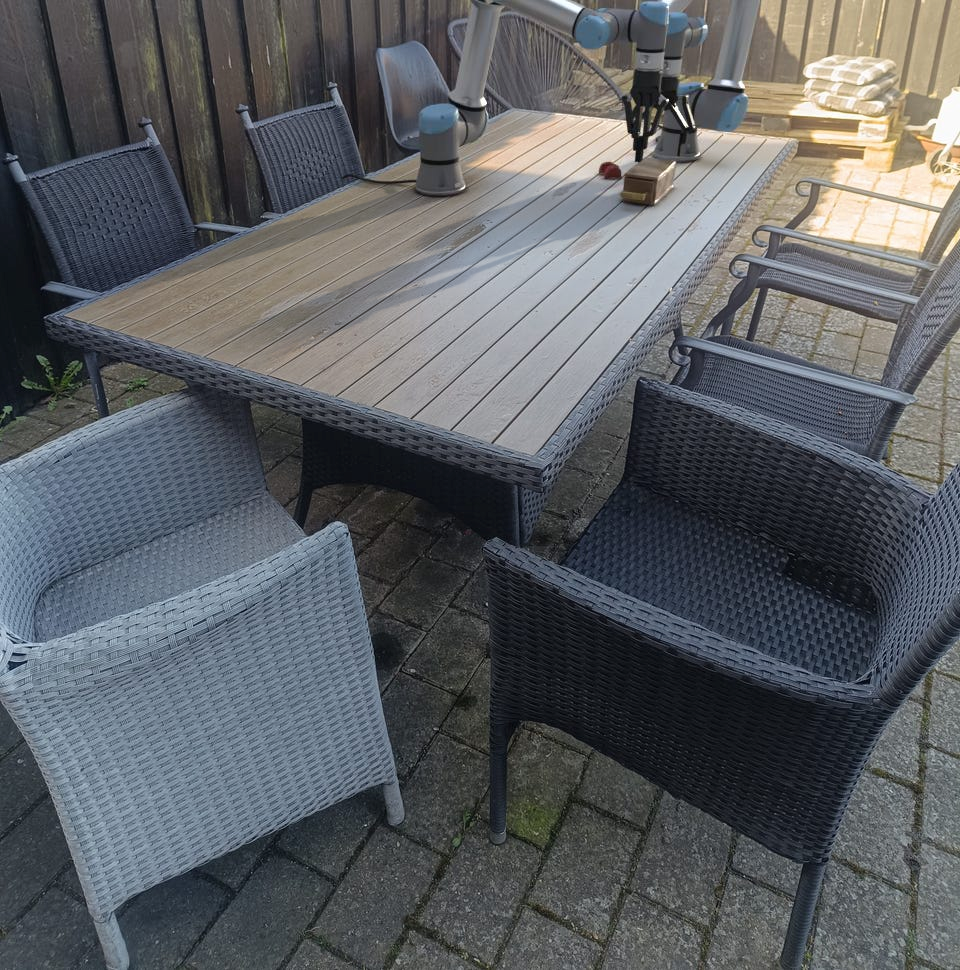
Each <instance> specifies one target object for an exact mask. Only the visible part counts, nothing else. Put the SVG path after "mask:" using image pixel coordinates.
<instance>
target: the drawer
mask: <svg viewBox="0 0 960 970" xmlns="http://www.w3.org/2000/svg"><path fill="white" fill-rule="evenodd" d="M653 190H654V180H647V179H639V178H632V177H630V178H625V179H624V178H623V188H622V190H621V191H620V194H619V195H620V198H621V201H622V200H627V201H634V202H641V203H648V204H651V203H652V199H653Z"/></svg>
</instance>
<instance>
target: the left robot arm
mask: <svg viewBox="0 0 960 970" xmlns="http://www.w3.org/2000/svg"><path fill="white" fill-rule="evenodd" d="M657 1H658V0H656V1H653V0H652V1H649V0H648V1H642V2H641V3H640V5H639V8H638V9H625V8H614V7H601V8H598V9H597V11H596V10H593V9H591V8H588V7H586V6H585V5H582V4H580V3H578V2H576V1H574V0H470V8H469V14H468V19H467V26H466V28H465V29H466V30H465V35H464V41H463V46H462V50H461V51H462V52H461V56H460V61H459V67H458V72H457V78H456V82H455V88H454V89H453V90H452V91H450V92H449V93H448V97H447V103H436V104H430V105H428V106H425V107H424V108H422V109H421V110H420V112H419V114H418V126H417V127H418V134H419V135H418V136H419V138H418V139H419V157H420V158H419V159H420V161H419V162H420V164H419V168H418V172H417V176H416V179H404V180H375V179H370V178H364V177H362V176H359V175H357V174H354V173H347V174H344V175H343V176H342V177H341V180H345V179H346V178H348V177H350V178H355V179H357V180H360V181H363V182H368V183H372V184H379V185H397V184H398V185H399V184H412V183H415V192H417V193H418V194H420V195H424V196H430V197H450V196H455V195H459V194H461V193H463V192H464V191H466V181H465V179H464V176H463V172H462V169H461V165H460V148H462V147H464V146H466V145H468V144H472V143H474V142H476V141H478V140H479V139H480V138H481V137H483V136H484V134H485V133H486V131H487V129H488V126H489V119H490V117H489V113H488V111H487V100H486V99H485V96H484V94H485V88H486V84H487V79H488V75H489V74H488V73H489V71H490V70H489V69H490V64H491V60H492V55H493V50H494V45H495V40H496V35H497V31H498V26H499V21H500V17H501V12H502V10H503V9H505V8H507V9H509V10H511V11H514V12H516V13H517V14H520V15H523V16H524V17H527V18H528V19H531V20H533V21H535V22H537V23H540V24H542V25H543V26H545V27H548V28H550V29H552V30H555V31H557V32H559V33H561V34H563V35H565V36H567V37H570V38H572V39H574V40H576V42H577V44H579V46H580V47H581V48H582V49H584V50H598V49H601V48H603V47H605V46H607V45H611V44H613V43H617V42H618V43H619V42H621V43H632V44H633V43H635V54H634V66H633V67H634V68H635V69H634V70H633V76H632V86H631V88H630V90H629V92H628V93H627V94H623V95H622V96H621V98H620V100H621V102H622V103H623V107H624V115H625V122H626V131H627V134H630V135H631V134H632V135H633V136H634V138H632V139H633V140H632V149H633V148H634V149H636V151H635V153H634V154H635V155H634V163H638V162H639V163H640V162H641V161H642V160H643V158H644V151H645V150H647V149H648V145H649V137H653V136H654V135H655V134H656V133H657V130H658V128H659V127H658V125H660V121H661V119H662V116H663V114H664V108H665V106H666V105H667V104H668V102H669V99H668V98H665V97H664V96H663V95H662V91H661V79H662V70H660V69H661V68H662V67H663V62H664V52H665V43H666V35H667V28H668V16H669V6H668V4H667V3H665V2H657ZM658 99H659V102H658V104H659V107H658V109H657V110H656V112H655V115H654V118H653V121H652V113H653V110H654V109H653V105H654V104H655V103H656V101H657V100H658ZM632 100H633V101H634V104H635V106H636V115H635V118H634V121H635V124H634V122H633V114H632V111H633V105H632ZM652 109H653V110H652ZM644 111H645V117H644V119H643V120H642V113H643V112H644ZM642 122H643V128H642ZM651 122H652V123H653V124H652V125H650V123H651ZM641 130H642V132H641ZM641 134H642V135H641Z"/></svg>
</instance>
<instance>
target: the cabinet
mask: <svg viewBox="0 0 960 970" xmlns="http://www.w3.org/2000/svg"><path fill="white" fill-rule="evenodd" d="M676 167H677V162H676V161H672V160H664V159H658V158H656V157H647V156H644V157H643V160H642V161H641V162H640V163H639V162H636V164H634V165H633V166H632V167H631V168H630V169H628V170H627V171H626V172H625V173H624V176H623V180H624V179H625V178H630V177H632V178H639V179H647V180H654V190H653V199H652V203H651V204H648V203H641V202H634V201H627V200H622V199H621V202H626V203H632V204H633V203H634V204H640V205H647V206H648V205H649V206H656V205H657V204H658V203H659V202H660V201H661V200H662V199H663V198H664V197H666V195H667V194H669V192H670V191H672V190H673V188H674V184H675V183H674V182H675V175H676Z"/></svg>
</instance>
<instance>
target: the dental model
mask: <svg viewBox="0 0 960 970" xmlns="http://www.w3.org/2000/svg"><path fill="white" fill-rule="evenodd" d="M598 174H599V175H601V174H604V175H603V178H604V179H614V178H615V179H616V178H617V179H618V178H622V175H623V173H622V170H621V169H620V166H619V165H618V164H617V163H614V162H613V161H604V162H602V163H601V164H600V166H599V168H598Z"/></svg>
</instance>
